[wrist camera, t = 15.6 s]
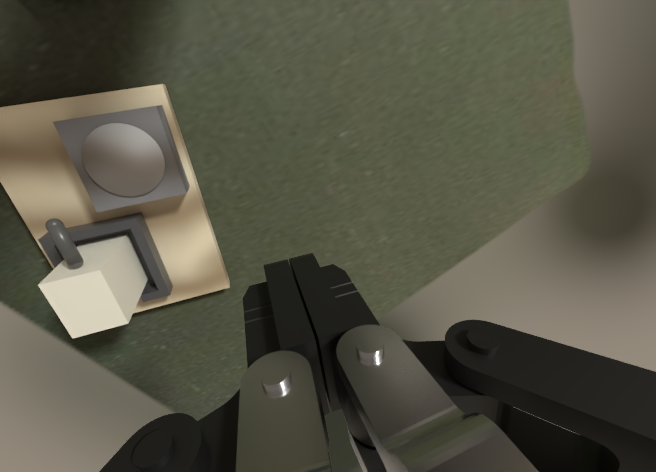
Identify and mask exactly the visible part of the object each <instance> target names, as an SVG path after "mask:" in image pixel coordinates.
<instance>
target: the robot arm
mask: <svg viewBox="0 0 656 472" xmlns="http://www.w3.org/2000/svg"><path fill="white" fill-rule="evenodd" d="M289 262H290V265H289ZM289 262H288V260H283V261H279V262H275V263H271V264H267V265H264V270H265V275H266V279H267V282H263V283H259V284H256V285H252V286H249V288H248V290H247V292H246V294H245V296H244V297H243V306H244V320H245V334H246V348H247V362H248V369H247V371H246V372H245V374H244V376H243V378H242V380H241V385H240V389H239V390H238V392H237V393H236V394H235V395H234V396H233V397H232V398H231V399H230V400H229V401H228V402H227V403H225V404H224V405H222V406H221V407H220V408H218V409H216V410H215V411H213V412H212V413H210V414H208V415H207V416H205V417H204V418H202V419H201V420H199V421H196V420H195V419H194V418H193V417H191V416H189V415H187V414H183V413H174V414H168V415H165V416H162V417H160V418H157V419H155V420H153V421H151V422H150V423H148V424H146V425H145V426H143V427H142V428H141V429H139V430H138V431H137V432H136V433H135V434H134V435H133V436H132V437H131V438H130V439H129V440H128V441H127V442H126V443H125V444H124V445H123V446H122V447H121V449H120V450H119V451H118V452H117V453H116V454H115V455H114V456H113V457H112V459H110V461H109V462H108V463H107V464H106V465H105V466H104V467H103V468H102V469H101V471H100V472H333V471H332V466H331V461H330V456H329V451H328V450H329V437H328V432H327V427H326V422H325V417H324V415H325V414H328V413H329V409H328V403H327V398H328V401H329V403H330V407H331V410H332V412H333V411H335V410H338V409H341V408H342V410H343V414H344V416H345V419H346V422H347V425H348V430H349V438H350V441H351V444H352V447H353V449H354V451H355V453H356V455H357V458H358V460H359V463H360V465H361V467H362V470H363V472H656V372H654V371H650V370H647V369H644V368H640V367H637V366H634V365H631V364H627V363H624V362H621V361H617V360H614V359H611V358H607V357H604V356H600V355H597V354H594V353H590V352H587V351H584V350H581V349H577V348H574V347H571V346H567V345H564V344H561V343H557V342H554V341H551V340H547V339H544V338H541V337H537V336H534V335H531V334H527V333H524V332H520V331H517V330H514V329H511V328H507V327H504V326H501V325H497V324H494V323H491V322H487V321H481V320H466V321H461V322H459V323H456V324H454V325H453V326H451V327H450V328H449V330H448V331H447V333H446V335H445V341H425V342H412V341H406V340H402V339H401V338H400V337H399V336H398V335H397V334H396V333H395V332H393V331H392V330H390V329H388V328H386V327H383V326H380V325H379V323H378V321H377V320H376V318H375V317H374V315H373V314H372V312H371V311H370V309H369V307H368V306H367V304H366V303H365V301H364V300H363V298H362V297H361V295H360V294H359V292H357V289H356V287H355V286H354V284H353V283H352V281H351V280H350V278H349V276H348V275H347V273H346V272H345V271H344V270H342V269H340V268H339V267H337V266H335V265H333V264H332V265H328V266H325V267H321V268H320V266H319V264H318V262H317V260H316V259H315V257H314V255H313V253H311V254H307V255H303V256H299V257H295V258H291V259H289ZM290 267H291V268H290ZM325 391H326V392H325ZM326 395H327V398H326ZM514 407H515V408H514ZM516 408H518V409H516ZM519 409H520V410H519ZM521 410H522V411H521ZM523 411H525V412H523ZM526 412H527V413H526ZM528 413H530V414H528ZM531 414H532V415H531ZM533 415H534V416H533ZM535 416H537V417H535ZM538 417H539V418H538ZM540 418H541V419H540ZM542 419H544V420H542ZM545 420H546V421H545ZM547 421H549V422H551V423H549V422H547ZM552 423H553V424H552ZM554 424H556V425H554ZM557 425H558V426H557ZM559 426H561V427H563V428H565V429H563V428H561V427H559ZM566 429H568V430H570V431H568V430H566ZM571 431H572V432H571ZM573 432H575V433H573ZM576 433H577V434H576ZM578 434H579V435H578Z"/></svg>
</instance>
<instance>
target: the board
mask: <svg viewBox="0 0 656 472" xmlns="http://www.w3.org/2000/svg"><path fill="white" fill-rule="evenodd" d="M0 182H1V184H2V185H3V187H4V189H5V190H6V192H7V194H8V195H9V197H10V199H11V200H12V202H13V204H14V205H15V207H16V209H17V210H18V212H19V214H20V215H21V217H22V218H23V220H24V222H25V223H26V225H27V227H28V228H29V230H30V232H31V233H32V235H33V237H34V238H35V240H36V242H37V243H38V245H39V247H40V248H41V250H42V251H43V253H44V255H45V256H46V258H47V260H48V261H49V263H50V265H51V266H52V268H53V270H54V269H55V267H54V266H53V264H52V262H51V261H50V259H49V257H48V256H47V254H46V252H45V251H44V249H43V247H42V246H41V244H40V242H39V241H38V239H39V238H41V237H42V236H43V235H45V234H46V233H47V232H48V231H47V229H46V227H45V223H46V222H47V221H48V220H49V219H52V218H57V219H60V220H61V221H62V222H63V223H64V225H65V227H66V228H69V227H73V226H78V225H83V224H88V223H92V222H97V221H102V220H106V219H111V218H116V217H120V216H125V215H130V214H134V213H139V212H142V214H143V217H144V219H145V221H146V224H147V226H148V228H149V231H150V233H151V235H152V238H153V240H154V242H155V245H156V247H157V249H158V252H159V254H160V257H161V259H162V261H163V264H164V266H165V268H166V271H167V273H168V275H169V278H170V280H171V282H172V285H173V288H172V291H171V295H169V296H165V297H162V298H158V299H154V300H150V301H147V302H143V301H142V299H141V297H140V299H139V301H138V303H137V305H136V308H135V310H134V312H133V313H137V312H140V311H144V310H148V309H151V308H155V307H159V306H163V305H166V304H170V303H174V302H178V301H181V300H185V299H189V298H192V297H196V296H200V295H204V294H207V293H211V292H215V291H218V290H222V289H226V288H230V280H229V277H228V274H227V271H226V268H225V265H224V262H223V259H222V256H221V253H220V250H219V247H218V244H217V241H216V238H215V235H214V232H213V229H212V226H211V222H210V219H209V216H208V213H207V210H206V207H205V204H204V201H203V198H202V195H201V192H200V189H199V186H198V183H197V180H196V177H195V174H194V171H193V168H192V165H191V162H190V159H189V156H188V153H187V149H186V146H185V143H184V140H183V137H182V134H181V131H180V128H179V125H178V122H177V119H176V116H175V113H174V110H173V107H172V104H171V101H170V98H169V95H168V92H167V89H166V86H165V85H164V84H159V85H152V86H145V87H138V88H131V89H124V90H117V91H110V92H103V93H96V94H89V95H82V96H75V97H68V98H61V99H55V100H48V101H41V102H34V103H27V104H20V105H13V106H6V107H0Z"/></svg>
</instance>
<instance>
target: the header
mask: <svg viewBox="0 0 656 472" xmlns="http://www.w3.org/2000/svg"><path fill="white" fill-rule="evenodd" d="M66 229H67V231H68V233H69V234H70V236H71V238H72V240H73V242H74V244H75V245H76V247H77V246H78V245H79V244H82V243H87V242H91V241H96V240H100V239H105V238H109V237H114V236H118V235H123V234H128V236H129V238H130V240H131V242H132V245H133V247H134V249H135V251H136V253H137V256H138V258H139V260H140V262H141V264H142V266H143V269H144V271H145V273H146V275H147V277H148V280H147V283H146V285H145V287H144V289H143V292H142V294H141V296H140V297H141V299H142V301H143V302H147V301H150V300H154V299H158V298H162V297H165V296H169V295H171V291H172V288H173V285H172V282H171V280H170V278H169V275H168V273H167V271H166V268H165V266H164V264H163V261H162V259H161V257H160V254H159V252H158V249H157V247H156V245H155V242H154V240H153V238H152V235H151V233H150V231H149V228H148V226H147V224H146V221H145V219H144V217H143V214H142V212H139V213H134V214H130V215H125V216H120V217H116V218H111V219H106V220H102V221H97V222H92V223H88V224H83V225H78V226H73V227H69V228H66ZM38 241H39V242H40V244H41V246H42V247H43V249H44V251H45V252H46V254H47V256H48V257H49V259H50V261H51V262H52V264H53V266H54V267H55V268H56V267H57V266H58V265H59V264H60V263H61V262H62V261H63V260H64V258H63V257H62V255H61V253H60V252H59V250H58V248H57V246H56V245H55V243H54V241H53V239H52V238H51V236H50V234H49V232H47V233H46V234H45V235H43V236H42V237H41V238H39V239H38Z"/></svg>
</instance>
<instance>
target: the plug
mask: <svg viewBox="0 0 656 472" xmlns="http://www.w3.org/2000/svg"><path fill="white" fill-rule="evenodd" d="M45 227H46V229H47V231H48V232H49V234H50V236H51V238H52V239H53V241H54V243H55V245H56V246H57V248H58V250H59V252H60V253H61V255H62V257H63V258H64V260H63V261H62V262H61V263H60V264H59V265H58V266H57V267H56V268H55V269H54V270H53V271H52V272H51V273H50V274H49V275H48V276H47V277H46V278H45V279H44V280H42V281H41V282H40V283H39V284H38V286H39V287H40V289H41V291H42V292H43V294H44V295H45V297H46V298H47V300H48V301H49V303H50V305H51V306H52V308H53V309H54V311H55V312H56V314H57V315H58V317H59V318H60V320H61V322H62V323H63V325H64V326H65V328H66V329H67V331H68V332H69V334H70V336H71V337H72V339H73V338H77V337H81V336H84V335H88V334H92V333H95V332H99V331H103V330H106V329H110V328H114V327H117V326H121V325H125V324H128V323H129V321H130V319H131V317H132V314H133V312H134V310H135V308H136V305H137V303H138V301H139V299H140V296H141V294H142V292H143V289H144V287H145V285H146V283H147V280H148V277H147V275H146V273H145V271H144V269H143V266H142V264H141V262H140V260H139V258H138V256H137V253H136V251H135V249H134V247H133V245H132V242H131V240H130V238H129V236H128V234H123V235H118V236H114V237H109V238H105V239H100V240H96V241H91V242H87V243H82V244H79V245H78V246H77V247H76V245H75V244H74V242H73V240H72V238H71V236H70V234H69V233H68V231H67V229H66V227H65V225H64V223H63V222H62V221H61V220H60V219H57V218H52V219H49V220H48V221H47V222H46V223H45Z"/></svg>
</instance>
